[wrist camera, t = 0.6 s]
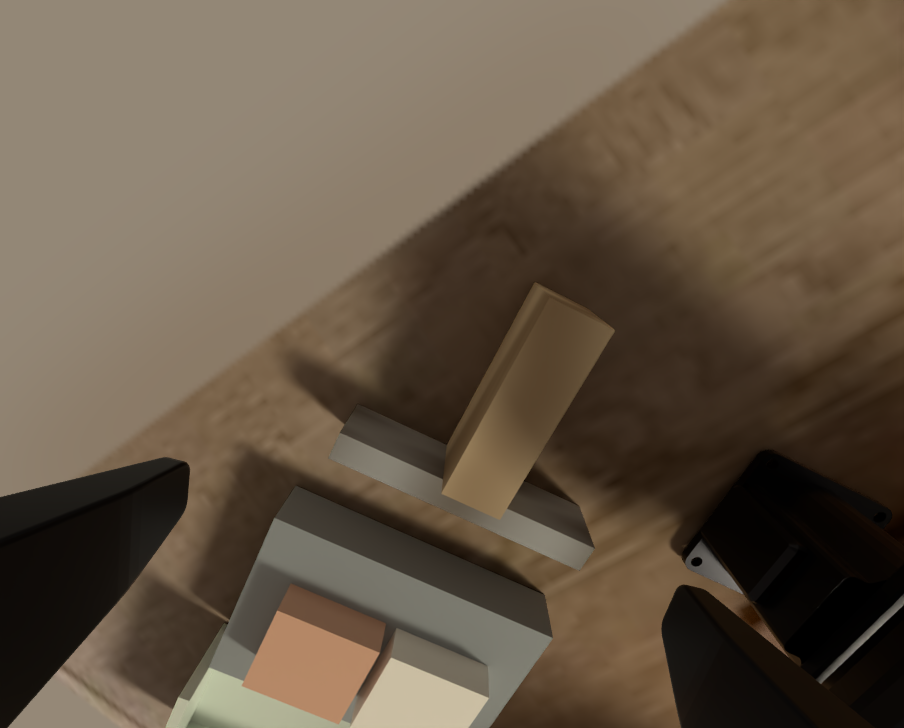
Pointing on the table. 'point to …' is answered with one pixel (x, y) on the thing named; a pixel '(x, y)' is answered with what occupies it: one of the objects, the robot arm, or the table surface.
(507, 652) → the grey stepped riser
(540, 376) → the scraper
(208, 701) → the tray
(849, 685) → the robot arm
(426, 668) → the tile cream
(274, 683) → the tile terracotta
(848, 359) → the table surface
